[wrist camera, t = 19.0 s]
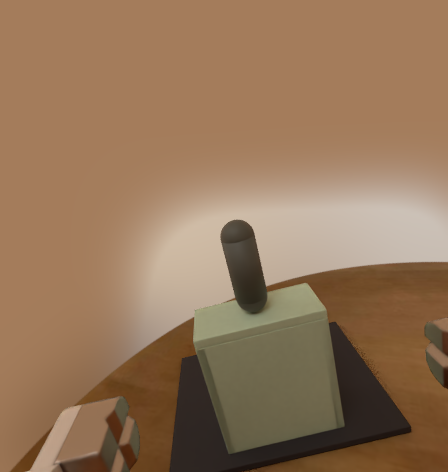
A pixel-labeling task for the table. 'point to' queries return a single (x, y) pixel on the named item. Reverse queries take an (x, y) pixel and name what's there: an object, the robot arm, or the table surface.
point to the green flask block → (266, 355)
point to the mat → (230, 465)
